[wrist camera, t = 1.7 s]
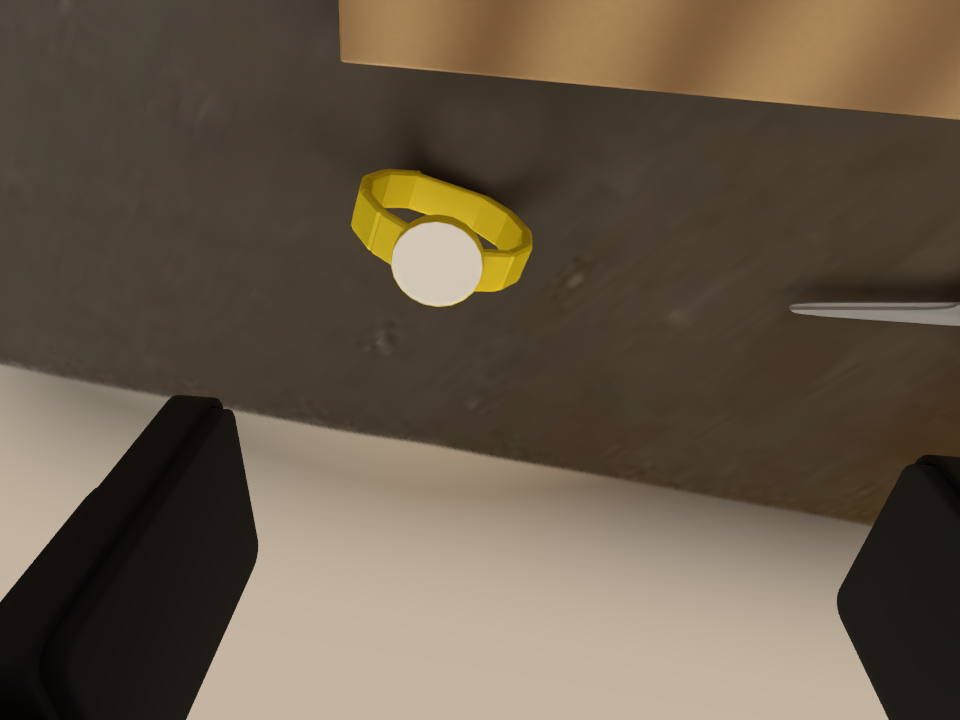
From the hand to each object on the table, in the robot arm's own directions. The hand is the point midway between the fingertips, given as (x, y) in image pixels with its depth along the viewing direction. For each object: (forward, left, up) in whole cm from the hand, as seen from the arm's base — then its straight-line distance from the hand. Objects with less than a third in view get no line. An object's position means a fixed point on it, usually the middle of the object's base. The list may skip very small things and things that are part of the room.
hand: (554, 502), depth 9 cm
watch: (-3, -1, -17) cm, 17 cm away
